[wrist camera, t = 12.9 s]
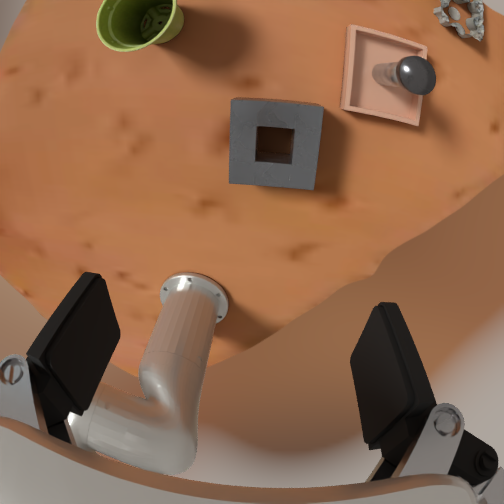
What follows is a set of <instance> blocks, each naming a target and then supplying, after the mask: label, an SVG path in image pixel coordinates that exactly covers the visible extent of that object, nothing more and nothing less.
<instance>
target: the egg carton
mask: <svg viewBox="0 0 504 504" xmlns="http://www.w3.org/2000/svg"><path fill="white" fill-rule="evenodd" d="M440 1H441V7H437V8H434V14H435V15H436V16H437V17H438V19H439V22H440V24H441V25H443V26H444V27H447V26H454V27H455V28H456V31H458V35H459V36H460V37H462V38H469V37H471V36H473V37H474V38H475V39H477V40H479V41H481V40H482V39H483V38H482V37H483V36H484V26H483V25H482V24H483V20H484V19H483V11H484V8H483V3H482V0H473V2H470V0H453V1H454V2H455V3H457V4H462V3H467V2H469V3H468V4H467V7H468V10H469V11H470V12H471V14H472V18H468V19H466V25H467V27H468V29H469V30H470V34H465V30H464V28H463V27H462V26H461V25H460V24H459V23H450V24H449V22H450V21H449V19H448V16H447V15H446V14H445V13H444V11H443V8H445V7H448V6H449V2H450V0H440ZM448 13H449V15H450V17H451V18H452V19H454V20H459V19H460V14H459V12H458V10H457V9H456V8H454V7H449V9H448Z"/></svg>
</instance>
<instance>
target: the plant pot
mask: <svg viewBox="0 0 504 504" xmlns="http://www.w3.org/2000/svg"><path fill="white" fill-rule="evenodd" d="M161 7H169V8H170V9H160V8H161ZM146 19H148V20H147V22H146V26H145V28H144V21H145V20H146ZM160 21H162V24H159V22H160ZM183 24H184V15H183V13H182V11H181V9H180V8H179V6H178V5H177V0H104V1H103V3H102V5H101V7H100V9H99V11H98V15H97V20H96V28H97V33H98V36H99V38H100V40H101V41H102V42H103V44H105V45H106V46H107V47H109V48H110V49H112V50H115V51H121V52H129V51H135V50H139V49H142V48H144V47H146V46H148V45H150V44H160V43H165V42H168V41H169V40H171V39H172V38H174V37H175V36H176V35H177V34H178V33H179V32H180V31H181V29H182V27H183ZM154 37H155V38H154Z"/></svg>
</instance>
